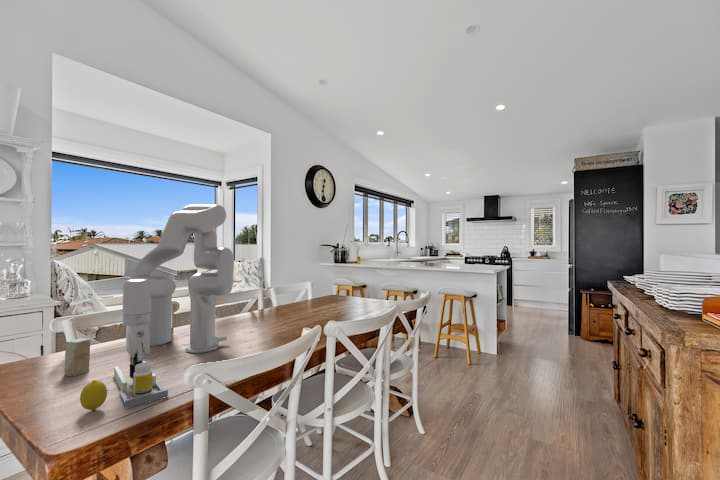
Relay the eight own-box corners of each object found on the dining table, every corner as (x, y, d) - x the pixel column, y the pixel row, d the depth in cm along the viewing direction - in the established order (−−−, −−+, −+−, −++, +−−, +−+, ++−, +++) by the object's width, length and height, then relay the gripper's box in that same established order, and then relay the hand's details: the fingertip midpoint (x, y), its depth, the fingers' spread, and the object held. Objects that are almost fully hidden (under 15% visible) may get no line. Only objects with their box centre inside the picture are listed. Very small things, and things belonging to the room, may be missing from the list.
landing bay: (159, 385, 104) (159, 378, 104) (167, 396, 96) (168, 389, 96) (119, 394, 97) (119, 388, 97) (125, 408, 89) (125, 400, 89)
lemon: (89, 406, 90) (90, 376, 90) (111, 405, 91) (112, 375, 91) (74, 416, 85) (74, 384, 85) (97, 415, 85) (98, 384, 85)
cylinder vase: (177, 340, 150) (178, 285, 150) (149, 348, 138) (150, 288, 139) (158, 337, 155) (159, 283, 155) (130, 344, 144) (131, 286, 144)
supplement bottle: (155, 392, 99) (156, 363, 99) (139, 398, 95) (139, 368, 95) (145, 388, 101) (146, 360, 101) (129, 395, 97) (129, 365, 97)
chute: (144, 369, 116) (144, 360, 116) (155, 385, 104) (156, 375, 104) (114, 376, 110) (114, 366, 110) (122, 393, 98) (122, 383, 98)
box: (74, 376, 109) (75, 342, 109) (63, 375, 110) (64, 341, 110) (90, 370, 114) (90, 338, 114) (80, 369, 115) (80, 337, 115)
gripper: (156, 320, 103) (155, 380, 103) (145, 312, 114) (144, 366, 114) (127, 324, 98) (126, 387, 98) (118, 316, 108) (117, 372, 108)
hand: (136, 376), depth 106 cm, fingers closed
